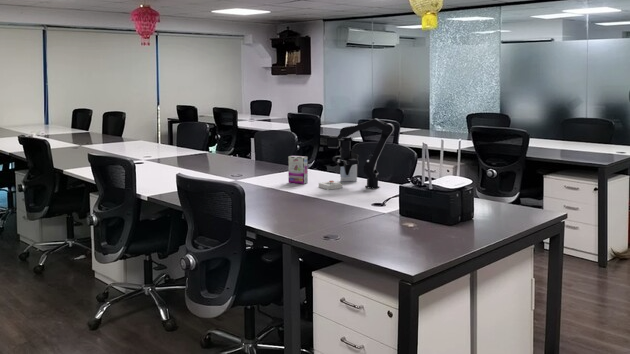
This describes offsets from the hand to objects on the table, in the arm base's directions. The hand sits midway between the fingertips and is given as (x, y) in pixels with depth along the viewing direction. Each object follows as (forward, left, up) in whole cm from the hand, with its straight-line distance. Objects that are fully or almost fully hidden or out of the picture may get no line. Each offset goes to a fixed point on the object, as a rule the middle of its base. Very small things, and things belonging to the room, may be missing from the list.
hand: (345, 174), depth 347 cm
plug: (0, 0, -1) cm, 1 cm away
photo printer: (+12, -11, -7) cm, 18 cm away
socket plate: (+1, +10, -7) cm, 12 cm away
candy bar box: (+23, +19, -7) cm, 30 cm away
